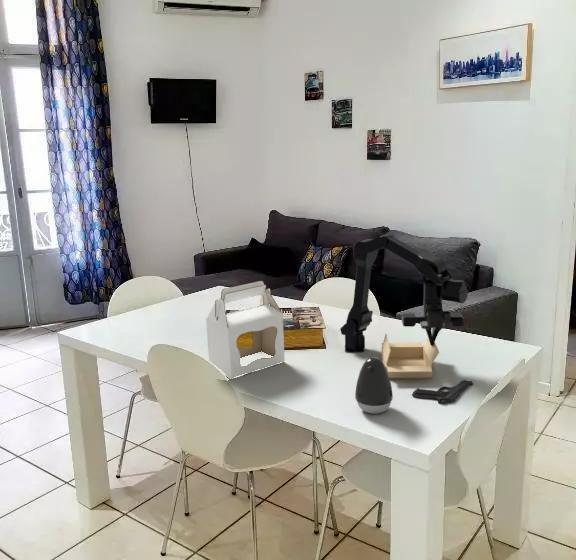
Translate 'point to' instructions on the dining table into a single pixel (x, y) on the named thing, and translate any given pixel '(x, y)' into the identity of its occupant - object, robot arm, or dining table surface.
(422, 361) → the carton
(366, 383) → the dark grey egg device
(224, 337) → the gable box
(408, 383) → the dining table surface
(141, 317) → the dining table surface
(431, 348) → the flap
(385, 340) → the flap
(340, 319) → the dining table surface
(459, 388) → the handgun
